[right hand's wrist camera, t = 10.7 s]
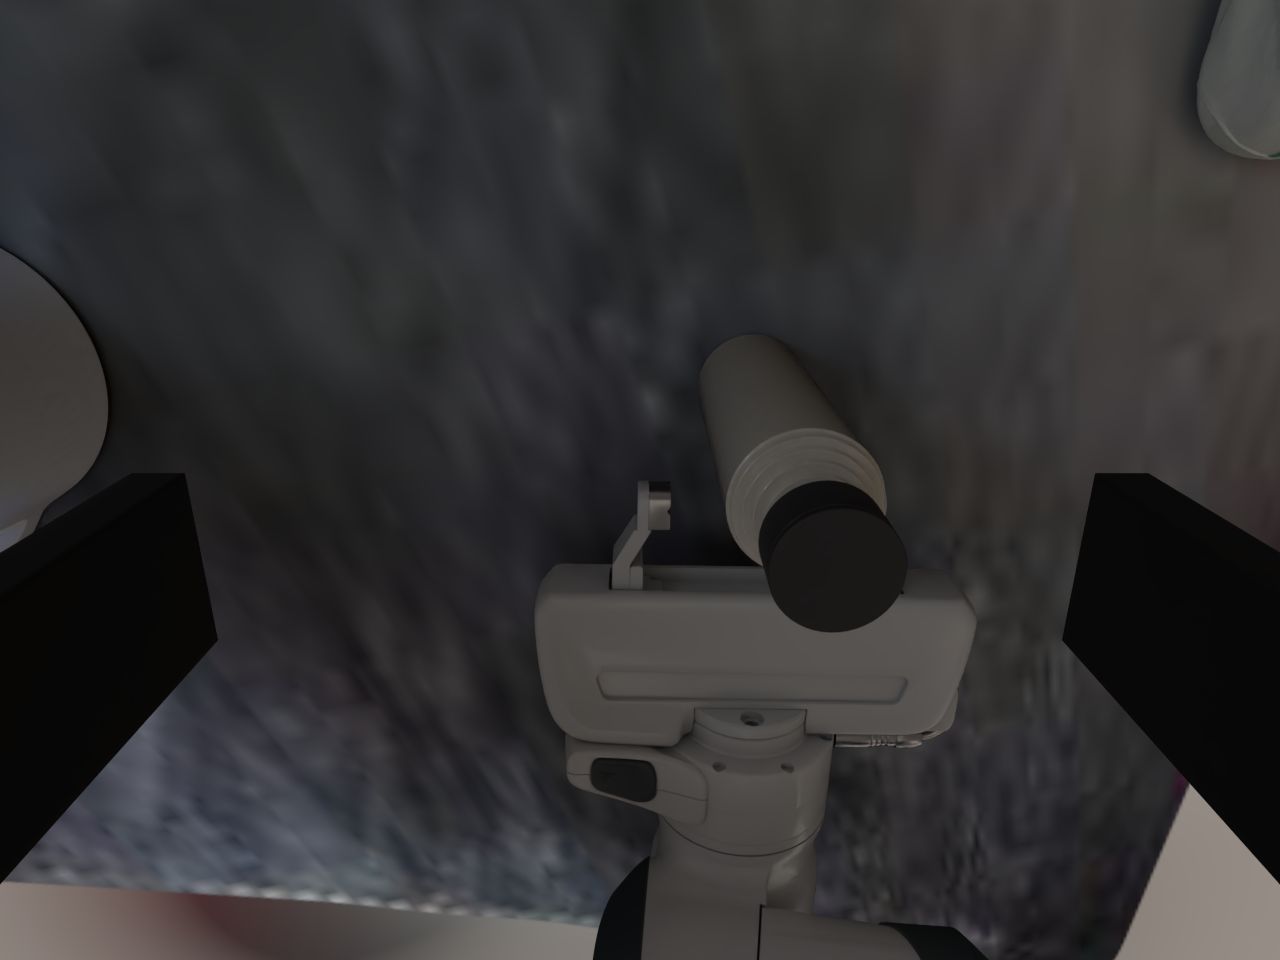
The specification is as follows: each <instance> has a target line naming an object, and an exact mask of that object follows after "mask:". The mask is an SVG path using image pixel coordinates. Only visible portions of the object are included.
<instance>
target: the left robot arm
mask: <svg viewBox="0 0 1280 960" xmlns="http://www.w3.org/2000/svg"><path fill="white" fill-rule="evenodd" d="M107 421H108V396H107V388H106V382H105V377H104V373H103V369H102V366H101V363H100V360H99V357H98V355H97V352H96V350H95V348H94V345H93V343H92V341H91V339H90V337H89V335H88V334H87V332H86V330H85V328H84V327H83V325H82V323H81V322H80V320H79V319H78V317H77V316H76V314H75V313H74V312H73V310H72V309H71V308H70V306H69V305H68V304H67V303H66V301H65V300H64V299H63V298H62V297H61V296H60V295H59V293H58V292H57V291H56V290H55V289H54V288H53V287H52V286H51V285H50V284H49V283H48V282H47V281H46V280H45V279H43V278H42V277H41V276H40V275H39V274H38V273H36V272H35V271H34V270H33V269H31V268H30V267H29V266H27V265H26V264H25V263H23V262H22V261H20V260H19V259H17V258H16V257H15V256H13V255H11V254H10V253H8V252H6V251H5V250H3V249H1V248H0V552H2V551H4V550H5V549H7V548H9V547H10V546H12V545H14V544H15V543H17V542H19V541H20V540H22V539H24V538H25V537H27V536H29V535H30V534H32V533H33V532H34V530H35V528H36V526H37V524H38V522H39V519H40V517H41V515H42V512H43V510H44V509H45V508H46V507H47V506H48V505H49V504H50V503H51V502H53V501H54V500H55V499H57V498H58V497H60V496H61V495H63V494H64V493H65V492H67V491H68V490H70V489H71V488H72V487H73V486H75V485H76V484H77V483H78V482H79V481H80V480H81V479H82V478H83V477H84V476H85V474H86V473H87V472H88V471H89V469H90V468H91V466H92V465H93V463H94V462H95V460H96V458H97V456H98V454H99V452H100V449H101V447H102V444H103V441H104V438H105V433H106V428H107ZM670 507H671V488H670V482H657V481H638V506H637V514H635V515H634V516H633V518H632V519H631V521H630V522H629V524H628V525H627V527H626V528H625V530H624V531H623V533H622V534H621V536H620V537H619V539H618V540H617V542H616V543H615V545H614V549H613V564H571V563H562V564H557V565H555V566H554V567H553V568H552V569H551V570H550V571H549V572H548V573H547V574H546V576H545V577H544V578H543V579H542V581H541V582H540V585H539V588H538V591H537V596H536V602H535V610H534V624H535V639H536V648H537V656H538V663H539V669H540V675H541V680H542V685H543V690H544V694H545V699H546V702H547V706H548V708H549V711H550V713H551V715H552V717H553V719H554V720H555V722H556V723H557V724H558V726H559V727H560V728H561V729H562V730H563V731H565V732H566V737H565V760H566V772H567V777H568V780H569V781H570V783H571V784H572V785H574V786H575V787H577V788H580V789H582V790H585V791H589V792H592V793H596V794H599V795H603V796H607V797H610V798H614V799H617V800H621V801H624V802H627V803H630V804H633V805H636V806H639V807H642V808H645V809H648V810H650V811H653V812H656V813H658V816H659V826H658V829H657V831H656V833H655V836H654V840H653V844H652V852H651V858H650V857H649V856H648V857H647V858H646V859H644V860H643V861H642V862H640V863H639V864H638V865H637V866H636V867H635V868H634V869H633V870H632V871H631V872H630V874H629V875H628V876H627V877H626V878H625V879H624V880H623V882H622V883H621V884H620V885H619V886H618V888H617V889H616V890H615V891H614V892H613V894H612V895H611V897H610V899H609V901H608V903H607V905H606V908H605V910H604V913H603V916H602V919H601V922H600V925H599V929H598V933H597V938H596V943H595V949H594V955H593V960H988V959H987V958H986V957H985V956H984V955H983V954H982V953H981V952H980V951H979V950H978V949H977V948H976V947H975V946H974V945H973V944H972V943H971V942H970V941H969V940H968V939H967V938H966V937H965V936H963V935H962V934H961V933H960V932H959V931H958V930H957V929H955V928H953V927H945V926H931V925H917V924H903V923H890V922H883V923H879V924H872V923H866V922H860V921H854V920H848V919H842V918H836V917H829V916H823V915H817V914H812V910H813V904H814V897H815V891H816V883H817V858H816V853H815V849H814V846H813V842H814V840H815V838H816V836H817V834H818V832H819V830H820V828H821V826H822V822H823V819H824V815H825V807H826V799H827V791H828V782H829V774H830V765H831V757H832V749H833V747H873V746H885V745H886V746H894V747H896V748H913V747H918V746H921V744H922V740H926V739H930V738H933V737H935V736H937V735H939V734H941V733H942V732H943V731H947V730H948V729H949V728H950V727H951V725H952V723H953V721H954V718H955V713H956V707H957V702H958V686H959V683H960V681H961V678H962V675H963V672H964V669H965V666H966V663H967V660H968V657H969V654H970V650H971V647H972V643H973V639H974V635H975V631H976V626H977V617H976V613H975V610H974V608H973V606H972V604H971V602H970V601H969V599H968V598H967V596H966V595H965V593H964V592H963V591H962V589H961V588H960V587H959V586H958V585H957V584H956V583H955V582H954V580H953V579H952V578H951V577H950V576H949V575H948V574H947V573H946V572H944V571H942V570H937V569H907V574H906V579H905V583H904V586H903V588H902V591H901V592H900V594H899V596H898V598H897V599H896V601H895V602H894V604H893V605H892V606H891V607H890V608H889V609H888V610H887V611H886V612H885V613H884V614H883V615H882V616H880V617H879V618H877V619H876V620H874V621H873V622H871V623H869V624H867V625H865V626H863V627H860V628H858V629H854V630H850V631H845V632H836V633H828V632H819V631H814V630H811V629H808V628H805V627H803V626H801V625H799V624H797V623H795V622H794V621H792V620H791V619H789V618H788V617H787V616H786V615H785V614H784V613H783V612H782V611H781V610H780V609H779V607H778V606H777V604H776V603H775V601H774V599H773V597H772V595H771V592H770V589H769V585H768V582H767V578H766V575H765V571H764V568H763V567H758V566H694V565H643V549H642V548H641V547H642V545H643V544H644V542H645V541H646V539H647V537H648V536H649V534H650V533H651V531H652V530H670ZM886 509H887V496H886V502H885V509H884V515H885V516H886Z"/></svg>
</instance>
